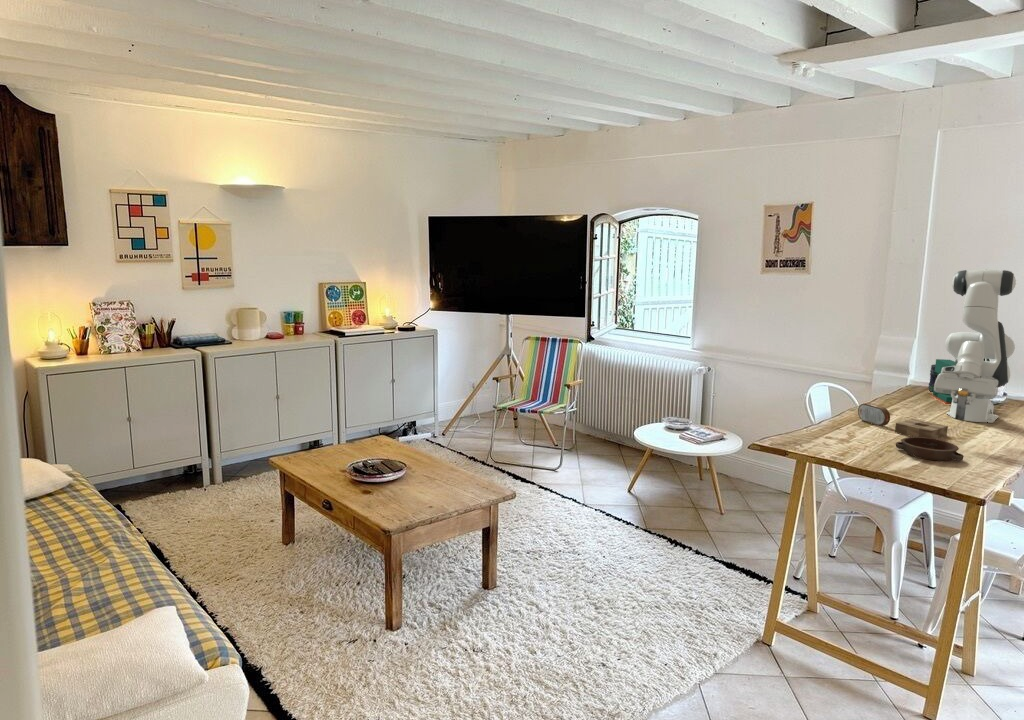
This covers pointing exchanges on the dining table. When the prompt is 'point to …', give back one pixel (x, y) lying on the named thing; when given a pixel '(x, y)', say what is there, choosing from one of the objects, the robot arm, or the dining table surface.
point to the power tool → (938, 367)
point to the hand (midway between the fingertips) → (961, 403)
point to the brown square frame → (921, 429)
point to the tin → (874, 414)
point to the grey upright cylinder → (961, 403)
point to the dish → (929, 448)
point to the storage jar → (932, 378)
